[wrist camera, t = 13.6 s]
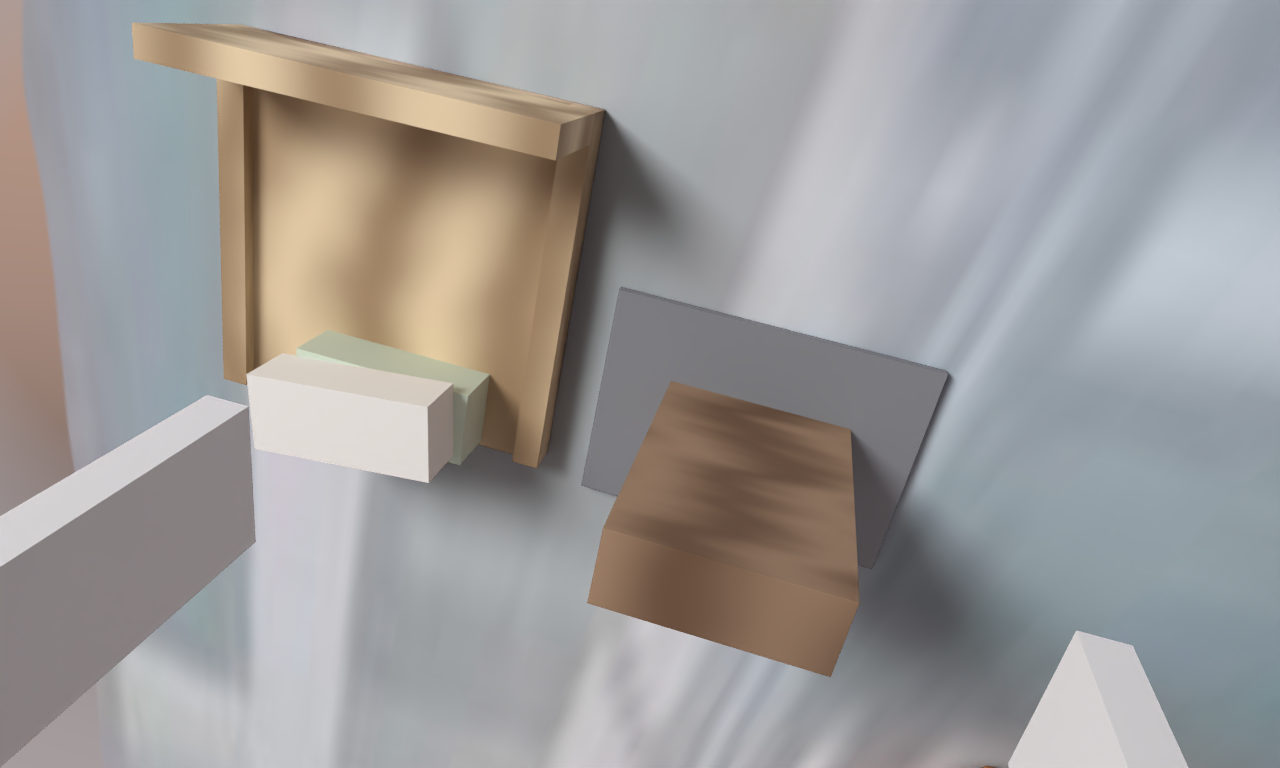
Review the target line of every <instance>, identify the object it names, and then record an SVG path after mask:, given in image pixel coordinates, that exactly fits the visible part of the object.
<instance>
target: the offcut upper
mask: <svg viewBox="0 0 1280 768" xmlns="http://www.w3.org/2000/svg"><path fill="white" fill-rule="evenodd" d="M246 376H247V384H248V393H249V402H250V411H251V420H252V428H253V437H254V446H255V449H259V450H264V451H269V452H274V453H279V454H284V455H289V456H295V457H300V458H305V459H310V460H315V461H320V462H325V463H330V464H335V465H340V466H345V467H350V468H355V469H360V470H365V471H371V472H376V473H381V474H386V475H391V476H396V477H401V478H406V479H411V480H416V481H421V482H426V483H429V482H430V481H431V480H432V479H433V478H434V477H435V475H436V474H437V473H438V472H439V471H440V470H441V469H442V468H443V466H444V465H445V464H446V463H447V462H448V461H449V460H450V459H451V458H452V456H453V455H454V427H453V383H449V382H443V381H438V380H432V379H426V378H421V377H415V376H409V375H404V374H398V373H392V372H387V371H381V370H375V369H370V368H364V367H358V366H353V365H347V364H341V363H336V362H330V361H324V360H319V359H313V358H307V357H302V356H296V355H290V354H285V353H282V354H280V355H279V356H277V357H275V358H273V359H272V360H270V361H268V362H267V363H265V364H263V365H261V366H260V367H258V368H256V369H254V370H253V371H251V372H249V373H248V374H246Z"/></svg>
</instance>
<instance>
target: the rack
mask: <svg viewBox="0 0 1280 768" xmlns="http://www.w3.org/2000/svg"><path fill="white" fill-rule="evenodd" d="M132 34H133V50H134V59H138V60H143V61H147V62H151V63H155V64H159V65H163V66H167V67H171V68H176V69H180V70H184V71H188V72H192V73H196V74H200V75H204V76H209V77H213V78H217V109H218V152H219V194H220V237H221V279H222V321H223V364H224V379H227V380H231V381H234V382H238V383H241V384H244V385H247V376H246V374H248V373H249V372H251V371H253V370H254V369H256V368H258V367H260V366H261V365H263V364H265V363H267V362H268V361H270V360H272V359H273V358H275V357H277V356H279V355H280V354H282V353H285V354H290V355H296V350H297V348H298V347H299V346H301V345H303V344H305V343H306V342H308V341H310V340H311V339H313V338H315V337H316V336H318V335H320V334H322V333H323V332H325V331H327V330H331V331H334V332H338V333H342V334H345V335H349V336H353V337H356V338H360V339H363V340H367V341H371V342H374V343H378V344H382V345H385V346H389V347H392V348H396V349H400V350H403V351H407V352H411V353H414V354H418V355H422V356H425V357H429V358H432V359H436V360H440V361H443V362H447V363H451V364H454V365H458V366H461V367H465V368H469V369H472V370H476V371H480V372H483V373H487V374H490V377H489V384H488V392H487V400H486V408H485V415H484V423H483V431H482V439H481V441H480V443H479V445H482V446H486V447H489V448H493V449H496V450H500V451H503V452H507V453H510V454H513V459H512V461H513V462H516V463H520V464H523V465H527V466H530V467H534V468H537V467H538V466H539V464H540V463H541V461H542V460H543V458H544V457H545V455H546V454H547V452H548V446H549V440H550V434H551V428H552V422H553V416H554V410H555V404H556V398H557V393H558V387H559V381H560V375H561V369H562V363H563V357H564V351H565V345H566V339H567V333H568V328H569V322H570V316H571V310H572V304H573V298H574V292H575V286H576V280H577V274H578V268H579V263H580V257H581V251H582V245H583V239H584V233H585V227H586V221H587V215H588V209H589V203H590V198H591V192H592V186H593V180H594V174H595V168H596V162H597V156H598V150H599V144H600V138H601V133H602V127H603V121H604V115H605V109H600V108H596V107H592V106H587V105H583V104H579V103H575V102H570V101H566V100H562V99H557V98H553V97H549V96H545V95H540V94H536V93H532V92H527V91H523V90H519V89H515V88H510V87H506V86H502V85H497V84H493V83H489V82H485V81H480V80H476V79H472V78H467V77H463V76H459V75H455V74H450V73H446V72H442V71H437V70H433V69H429V68H425V67H420V66H416V65H412V64H407V63H403V62H399V61H395V60H390V59H386V58H382V57H377V56H373V55H369V54H365V53H360V52H356V51H352V50H347V49H343V48H339V47H335V46H330V45H326V44H322V43H317V42H313V41H309V40H305V39H300V38H296V37H292V36H287V35H283V34H279V33H275V32H270V31H266V30H262V29H257V28H253V27H249V26H245V25H229V24H175V23H132Z"/></svg>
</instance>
